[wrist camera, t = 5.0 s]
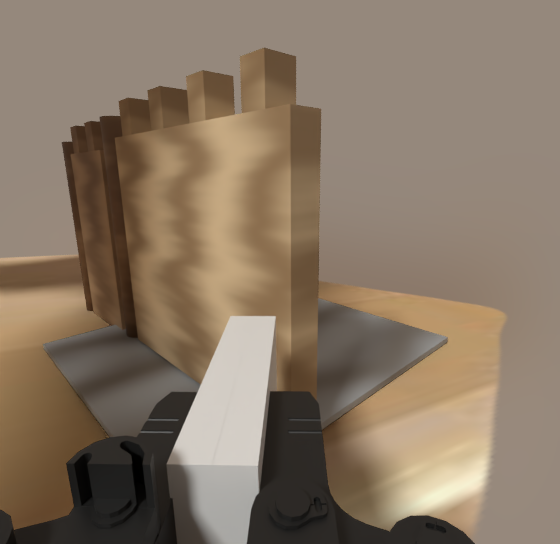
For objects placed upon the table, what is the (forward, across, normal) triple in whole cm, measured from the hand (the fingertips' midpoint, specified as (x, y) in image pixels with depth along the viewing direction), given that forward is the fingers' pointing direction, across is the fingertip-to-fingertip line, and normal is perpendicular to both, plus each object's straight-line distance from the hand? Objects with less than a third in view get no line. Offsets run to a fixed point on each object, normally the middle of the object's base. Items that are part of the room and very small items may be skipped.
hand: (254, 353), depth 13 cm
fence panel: (+9, -4, -6) cm, 11 cm away
